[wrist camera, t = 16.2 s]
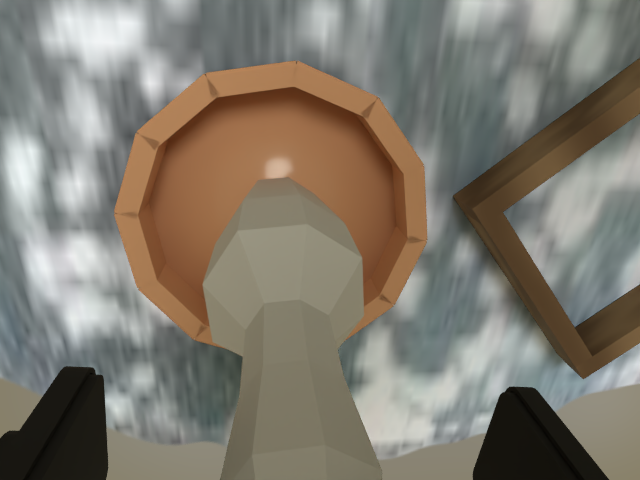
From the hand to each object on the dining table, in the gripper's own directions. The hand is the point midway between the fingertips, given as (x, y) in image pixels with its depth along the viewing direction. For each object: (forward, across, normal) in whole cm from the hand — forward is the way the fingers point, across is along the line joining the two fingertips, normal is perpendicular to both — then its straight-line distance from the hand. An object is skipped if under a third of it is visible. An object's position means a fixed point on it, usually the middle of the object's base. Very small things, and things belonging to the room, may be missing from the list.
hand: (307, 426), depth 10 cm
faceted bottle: (+18, 0, +1) cm, 18 cm away
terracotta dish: (+19, 0, +1) cm, 19 cm away
